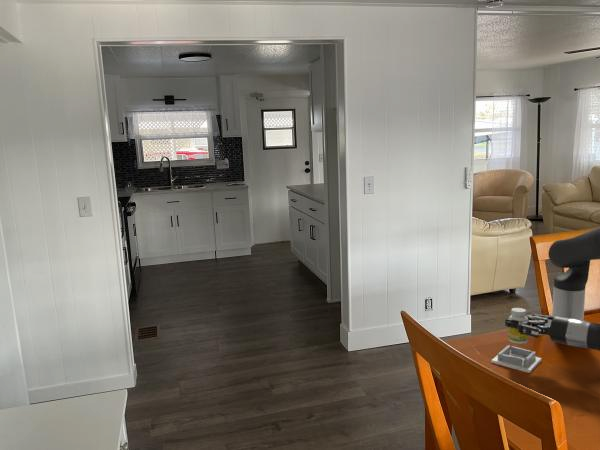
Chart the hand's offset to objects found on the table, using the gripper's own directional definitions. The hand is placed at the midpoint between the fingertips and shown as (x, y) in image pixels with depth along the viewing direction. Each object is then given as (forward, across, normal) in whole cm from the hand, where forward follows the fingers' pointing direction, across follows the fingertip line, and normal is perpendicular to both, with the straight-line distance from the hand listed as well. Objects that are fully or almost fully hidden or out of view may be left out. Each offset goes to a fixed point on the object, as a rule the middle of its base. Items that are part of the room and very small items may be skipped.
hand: (509, 319), depth 149 cm
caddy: (-2, 0, +13) cm, 13 cm away
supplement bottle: (-3, 0, +6) cm, 7 cm away
